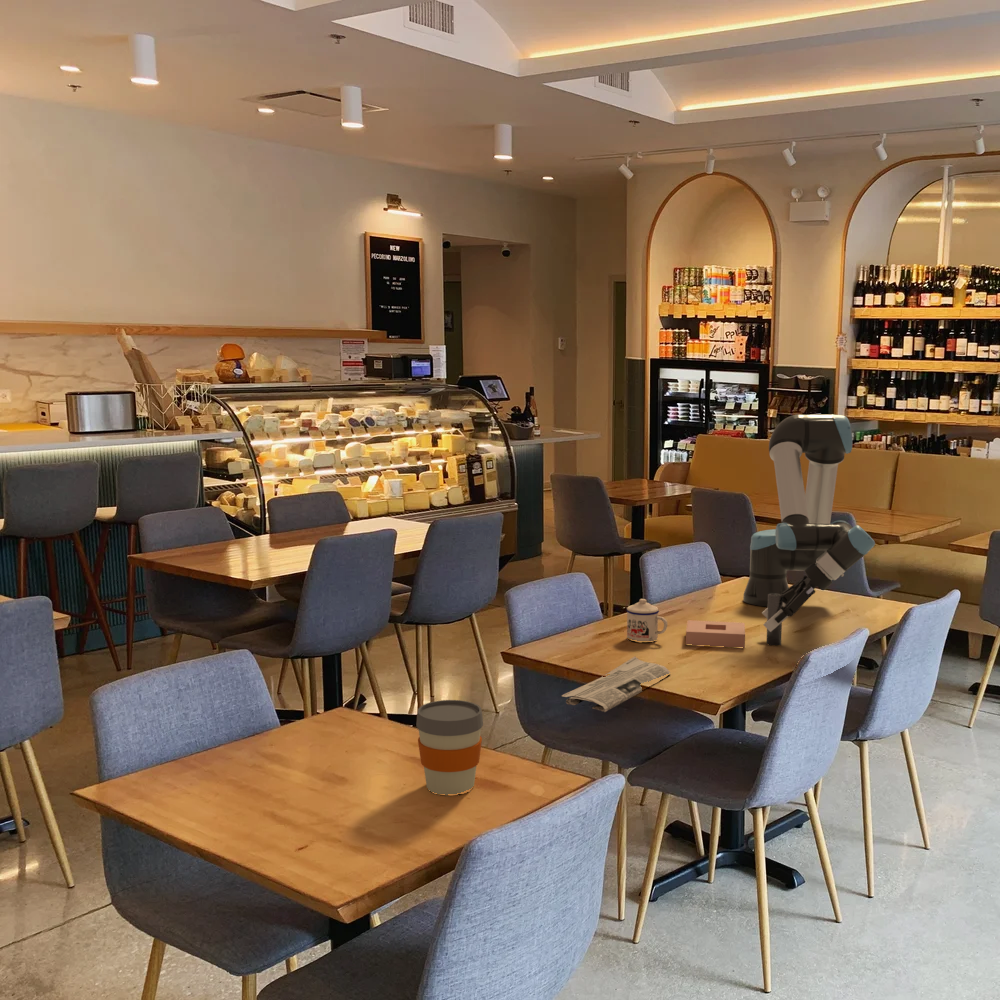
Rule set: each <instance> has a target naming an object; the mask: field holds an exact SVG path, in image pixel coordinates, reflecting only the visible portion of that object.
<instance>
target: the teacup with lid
mask: <svg viewBox="0 0 1000 1000" xmlns="http://www.w3.org/2000/svg"><path fill="white" fill-rule="evenodd" d="M625 610H626V612H627V614H626V615H627V616H626V639H627V638H629V639H632V640H637V641H654V640H658V639H657V638H658V636H659V635H662V634H664V633H665V632H666V630H667V628H668V621H667V619H666V618H665V617H663V616H659V612H660V611H659V608H658V607H657V606H656V605H652V604H651V603H649V602H647V599H645V598H640V599H639V601H638V602H636V603H634V604H632V605H629V606H628V607H626V609H625ZM659 620H660V621H662V622H663V628H662V629H661V630H659V628H658V626H659Z"/></svg>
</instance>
